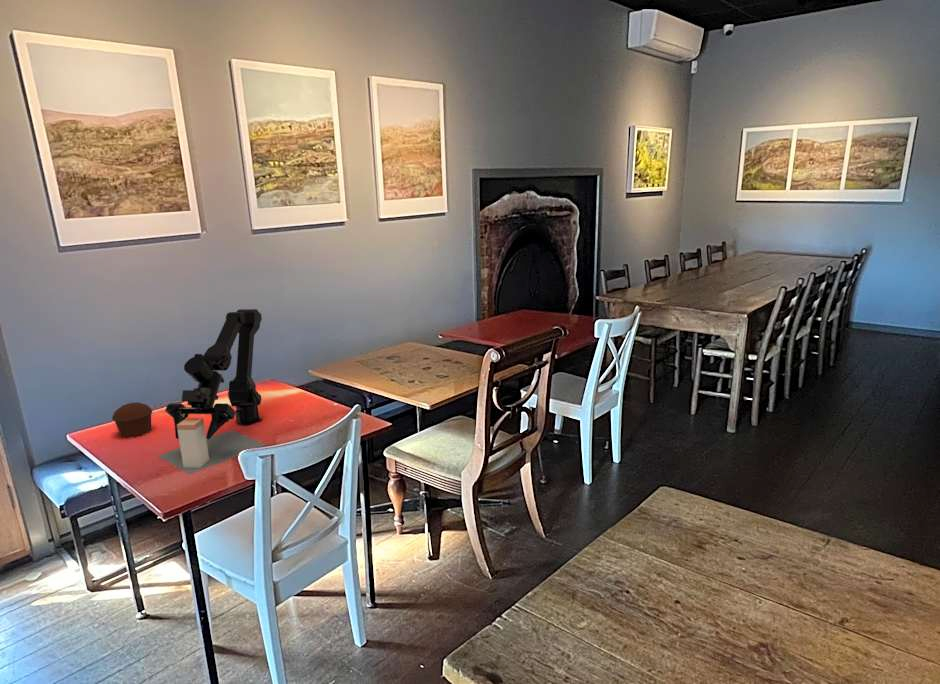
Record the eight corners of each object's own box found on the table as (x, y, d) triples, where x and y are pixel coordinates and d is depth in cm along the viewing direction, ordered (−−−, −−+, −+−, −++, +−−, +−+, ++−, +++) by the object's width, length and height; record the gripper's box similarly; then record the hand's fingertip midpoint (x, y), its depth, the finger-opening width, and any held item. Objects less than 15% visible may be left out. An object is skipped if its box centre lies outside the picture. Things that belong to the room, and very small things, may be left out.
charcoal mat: (232, 431, 192) (232, 430, 192) (266, 446, 180) (266, 444, 180) (157, 456, 174) (157, 455, 174) (189, 475, 162) (189, 474, 162)
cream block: (193, 459, 171) (186, 418, 168) (209, 459, 170) (203, 418, 167) (183, 467, 166) (176, 424, 163) (200, 467, 165) (193, 425, 162)
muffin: (149, 423, 201) (144, 396, 198) (160, 431, 193) (156, 403, 191) (110, 434, 192) (105, 405, 190) (121, 443, 185) (115, 413, 182)
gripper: (163, 377, 168) (145, 427, 160) (225, 377, 166) (210, 428, 158) (183, 393, 178) (167, 442, 169) (241, 394, 176) (228, 443, 168)
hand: (192, 438), depth 166 cm, fingers open, 9 cm apart
